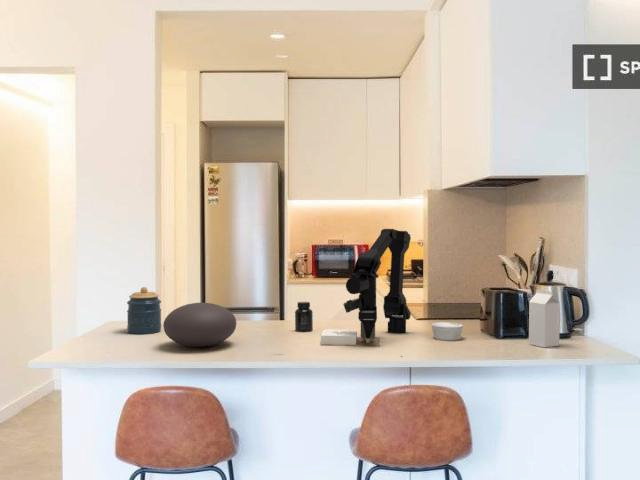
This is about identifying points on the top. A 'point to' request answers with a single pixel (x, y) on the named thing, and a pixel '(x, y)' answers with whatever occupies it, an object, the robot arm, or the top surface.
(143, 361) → the top surface
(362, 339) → the charcoal cube
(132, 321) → the canister
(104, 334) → the top surface
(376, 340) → the walnut board
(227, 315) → the smooth stone
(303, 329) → the supplement bottle
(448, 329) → the ramekin
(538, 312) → the milk carton
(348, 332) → the socket
